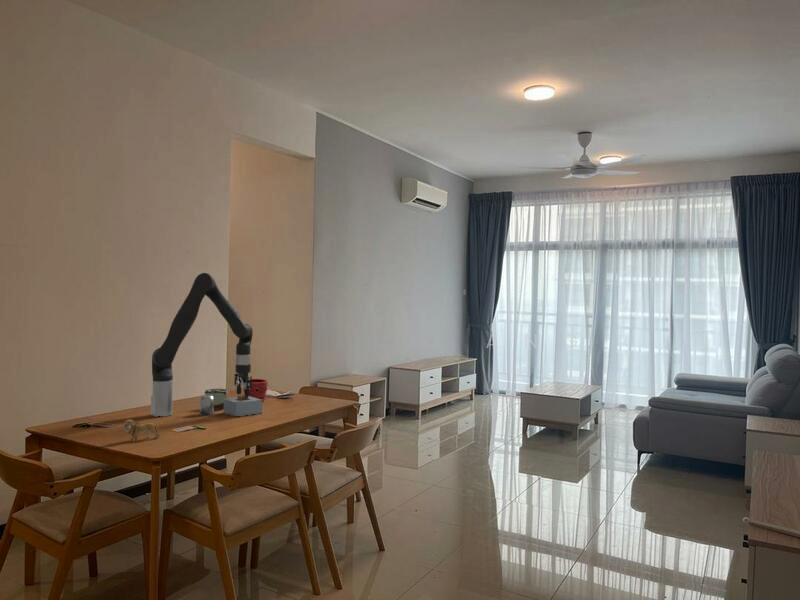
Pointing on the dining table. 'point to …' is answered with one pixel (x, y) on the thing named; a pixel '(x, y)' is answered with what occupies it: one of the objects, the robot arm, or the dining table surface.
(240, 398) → the square peg
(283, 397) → the dining table surface
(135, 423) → the lion figurine
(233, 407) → the socket block
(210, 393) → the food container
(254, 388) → the plant pot
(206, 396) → the round peg
